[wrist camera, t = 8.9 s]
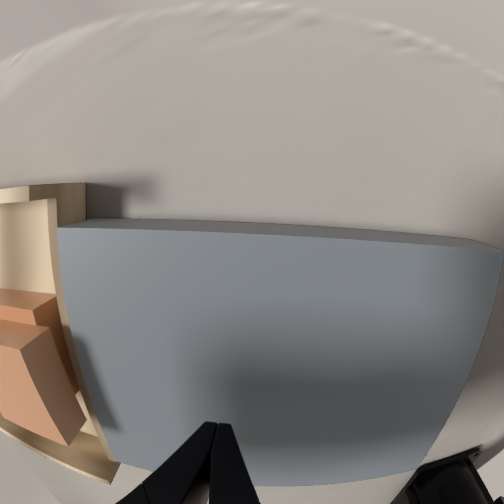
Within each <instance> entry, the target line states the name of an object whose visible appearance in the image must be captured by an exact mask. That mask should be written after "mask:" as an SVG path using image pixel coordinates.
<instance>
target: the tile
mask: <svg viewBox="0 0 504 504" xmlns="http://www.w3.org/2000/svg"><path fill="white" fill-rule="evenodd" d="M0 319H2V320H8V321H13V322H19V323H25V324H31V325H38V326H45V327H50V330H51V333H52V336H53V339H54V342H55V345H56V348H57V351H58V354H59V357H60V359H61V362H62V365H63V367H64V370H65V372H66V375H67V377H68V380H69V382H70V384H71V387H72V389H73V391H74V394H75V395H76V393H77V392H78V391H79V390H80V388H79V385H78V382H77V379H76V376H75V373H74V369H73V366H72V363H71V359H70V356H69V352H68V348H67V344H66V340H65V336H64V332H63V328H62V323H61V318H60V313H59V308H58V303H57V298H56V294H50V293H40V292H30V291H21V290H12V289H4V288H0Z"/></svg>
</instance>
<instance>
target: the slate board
mask: <svg viewBox="0 0 504 504" xmlns="http://www.w3.org/2000/svg"><path fill="white" fill-rule="evenodd" d="M57 241H58V252H59V262H60V270H61V278H62V285H63V292H64V298H65V303H66V309H67V314H68V319H69V324H70V329H71V333H72V338H73V342H74V346H75V350H76V354H77V358H78V361H79V365H80V368H81V372H82V375H83V378H84V382H85V385H86V388H87V391H88V394H89V397H90V400H91V403H92V406H93V408H94V411H95V414H96V417H97V419H98V422H99V424H100V427H101V429H102V432H103V434H104V437H105V439H106V441H107V444H108V446H109V448H110V450H111V452H112V455H113V457H114V459H115V461H117V462H121V463H124V464H127V465H131V466H135V467H138V468H142V469H146V470H150V471H155V470H156V469H157V468H158V467H159V466H160V465H161V464H162V463H164V462H165V461H166V460H167V459H168V458H169V457H170V456H171V455H172V454H173V453H174V452H175V451H176V450H177V449H178V448H179V447H180V446H181V445H182V444H183V443H184V442H185V441H186V440H187V439H188V438H189V437H190V436H191V435H192V434H193V433H194V432H195V431H196V430H197V429H198V428H199V427H200V426H201V425H202V424H203V423H204V422H205V421H210V422H217V423H229V424H231V425H232V428H233V431H234V434H235V437H236V440H237V442H238V445H239V448H240V451H241V454H242V457H243V459H244V462H245V465H246V468H247V470H248V473H249V476H250V478H251V481H252V484H253V486H309V485H325V484H336V483H345V482H353V481H360V480H366V479H373V478H378V477H383V476H388V475H393V474H398V473H402V472H406V471H410V470H414V469H417V468H418V466H419V465H420V463H421V462H422V460H423V459H424V457H425V456H426V454H427V453H428V451H429V450H430V448H431V447H432V445H433V443H434V442H435V440H436V438H437V437H438V435H439V433H440V432H441V430H442V428H443V426H444V425H445V423H446V421H447V419H448V417H449V416H450V414H451V412H452V410H453V408H454V406H455V404H456V402H457V400H458V398H459V396H460V394H461V392H462V390H463V387H464V385H465V383H466V381H467V378H468V376H469V374H470V371H471V369H472V367H473V364H474V362H475V359H476V357H477V354H478V351H479V349H480V346H481V343H482V340H483V337H484V334H485V331H486V328H487V325H488V322H489V319H490V315H491V312H492V308H493V305H494V301H495V297H496V293H497V289H498V285H499V280H500V276H501V271H502V266H503V261H504V251H502V250H499V249H497V248H494V247H491V246H488V245H485V244H482V243H479V242H477V241H474V240H471V239H464V238H454V237H445V236H434V235H424V234H413V233H402V232H390V231H378V230H365V229H351V228H337V227H322V226H306V225H289V224H270V223H250V222H227V221H199V220H164V219H94V218H93V219H89V220H85V221H81V222H77V223H73V224H69V225H65V226H61V227H57Z"/></svg>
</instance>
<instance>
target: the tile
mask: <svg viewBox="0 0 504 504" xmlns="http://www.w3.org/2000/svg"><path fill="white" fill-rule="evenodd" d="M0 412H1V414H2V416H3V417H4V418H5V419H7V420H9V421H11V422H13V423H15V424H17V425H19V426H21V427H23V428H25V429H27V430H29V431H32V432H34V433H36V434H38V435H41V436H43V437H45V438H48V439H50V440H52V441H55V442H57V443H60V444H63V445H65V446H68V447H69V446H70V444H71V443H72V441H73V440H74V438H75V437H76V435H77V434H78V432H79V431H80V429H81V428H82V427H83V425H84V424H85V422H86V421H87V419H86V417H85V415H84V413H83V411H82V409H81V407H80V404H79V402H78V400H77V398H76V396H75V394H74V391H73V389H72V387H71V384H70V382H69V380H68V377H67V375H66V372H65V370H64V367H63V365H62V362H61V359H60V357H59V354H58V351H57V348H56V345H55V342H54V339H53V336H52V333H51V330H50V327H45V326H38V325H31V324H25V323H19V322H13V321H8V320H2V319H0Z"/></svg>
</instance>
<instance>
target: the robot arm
mask: <svg viewBox="0 0 504 504" xmlns="http://www.w3.org/2000/svg"><path fill="white" fill-rule="evenodd" d="M480 453H481V450H480V448H476V449H473V450H471V451H468V452H466V453H463V454H460V455H457V456H455V457H452V458H449V459H446V460H443V461H440V462H436V463H433V464H430V465H426V466H423V467H421V468H419V469H418V470H417V471H416V472H415V473H414V475H413V476H412V477H411V479H410V480H409V481H408V483H407V484H406V485H405V487H404V488H403V489H402V490H401V492H400V493H399V494H398V495H397V497H396V498H395V499H394V500H393V501H392V503H391V504H504V497H502V496H500V497H499V498H497V499H496V500H495V501H493V499H492V497H491V496H490V494H489V492H488V490H487V488H486V486H485V484H484V483H483V481H482V479H481V477H480V476H479V474H478V472H477V470H476V469H475V467H474V465H473V462H474V461H475V460H476V458H477V457H478V456H479V454H480ZM208 498H209V504H261V503H260V502H259V499H258V496H257V494H256V491H255V489H254V486H253V484H252V481H251V478H250V476H249V473H248V470H247V468H246V465H245V462H244V459H243V457H242V454H241V451H240V448H239V445H238V442H237V440H236V437H235V434H234V431H233V428H232V425H231V424H229V423H217V422H210V421H205V422H204V423H203V424H202V425H201V426H200V427H199V428H198V429H197V430H196V431H195V432H194V433H193V434H192V435H191V436H190V437H189V438H188V439H187V440H186V441H185V442H184V443H183V444H182V445H181V446H180V447H179V448H178V449H177V450H176V451H175V452H174V453H173V454H172V455H171V456H170V457H169V458H168V459H167V460H166V461H165V462H164V463H162V464H161V465H160V466H159V467H158V468H157V469H156V470H155V471H154V472H153V473H152V474H151V475H150V476H149V477H147V478H146V479H145V480H144V481H143V482H142V484H140V485H138V486H137V487H136V488H135V489H134V490H133V491H132V492H130V493H129V494H128V495H127V496H125V497H124V498H123V499H121V500H120V501H118V502H117V503H115V504H207V501H208Z"/></svg>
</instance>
